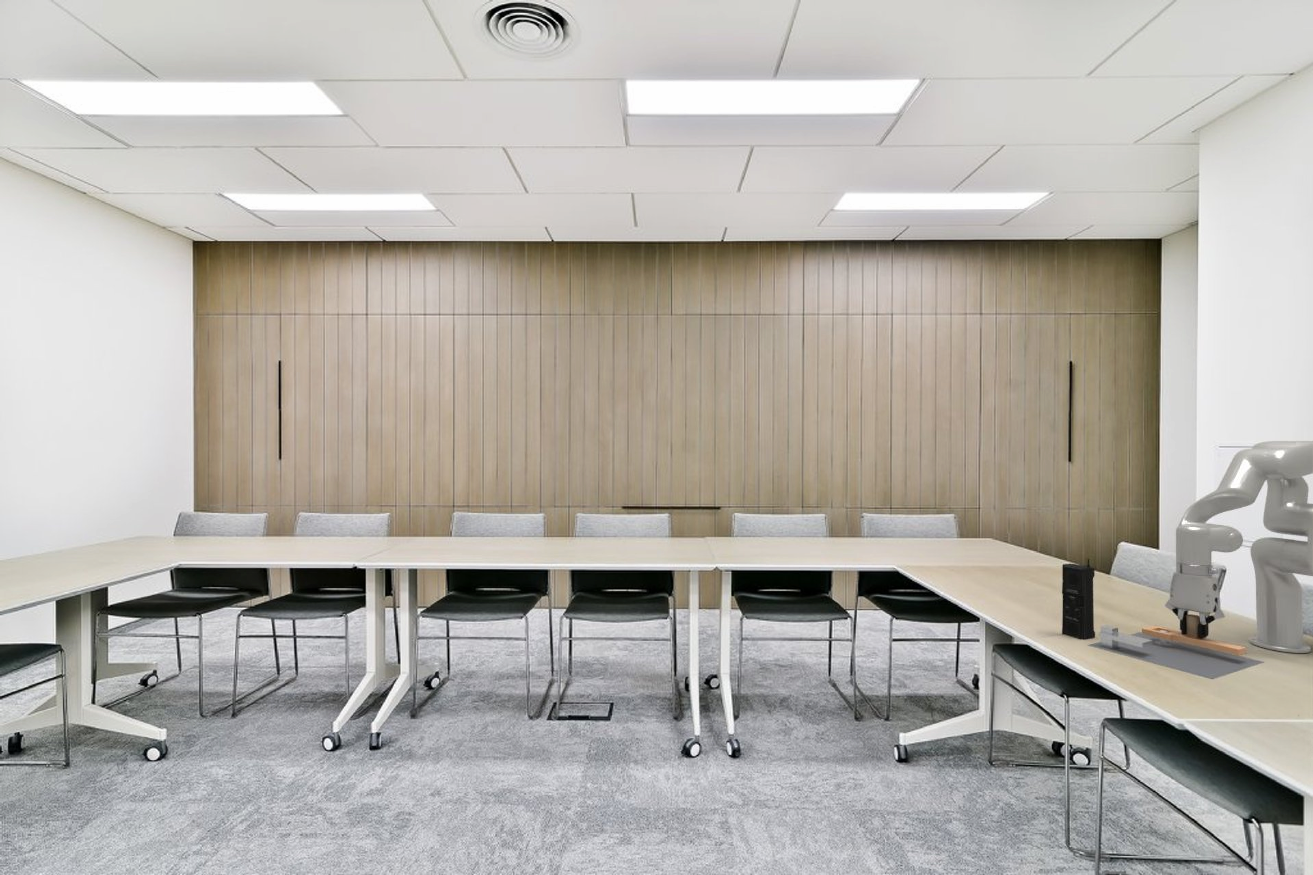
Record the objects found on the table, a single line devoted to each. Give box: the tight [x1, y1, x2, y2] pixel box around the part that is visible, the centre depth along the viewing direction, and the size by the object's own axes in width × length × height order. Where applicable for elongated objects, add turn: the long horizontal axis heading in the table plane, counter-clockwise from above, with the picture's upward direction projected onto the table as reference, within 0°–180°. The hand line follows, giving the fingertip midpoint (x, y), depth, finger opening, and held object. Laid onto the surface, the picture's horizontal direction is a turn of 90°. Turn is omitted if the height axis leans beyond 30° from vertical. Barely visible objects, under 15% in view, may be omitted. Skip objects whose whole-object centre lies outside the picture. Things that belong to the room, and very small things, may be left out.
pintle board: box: [1087, 630, 1264, 680], centre depth 171 cm, size 27×29×5 cm
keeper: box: [1098, 624, 1153, 649], centre depth 173 cm, size 5×11×7 cm, turn 26°
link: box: [1141, 613, 1247, 656], centre depth 172 cm, size 22×7×8 cm, turn 26°
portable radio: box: [1061, 558, 1096, 641], centre depth 187 cm, size 8×6×25 cm
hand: (1194, 635), depth 172 cm, fingers closed on link, 3 cm apart
